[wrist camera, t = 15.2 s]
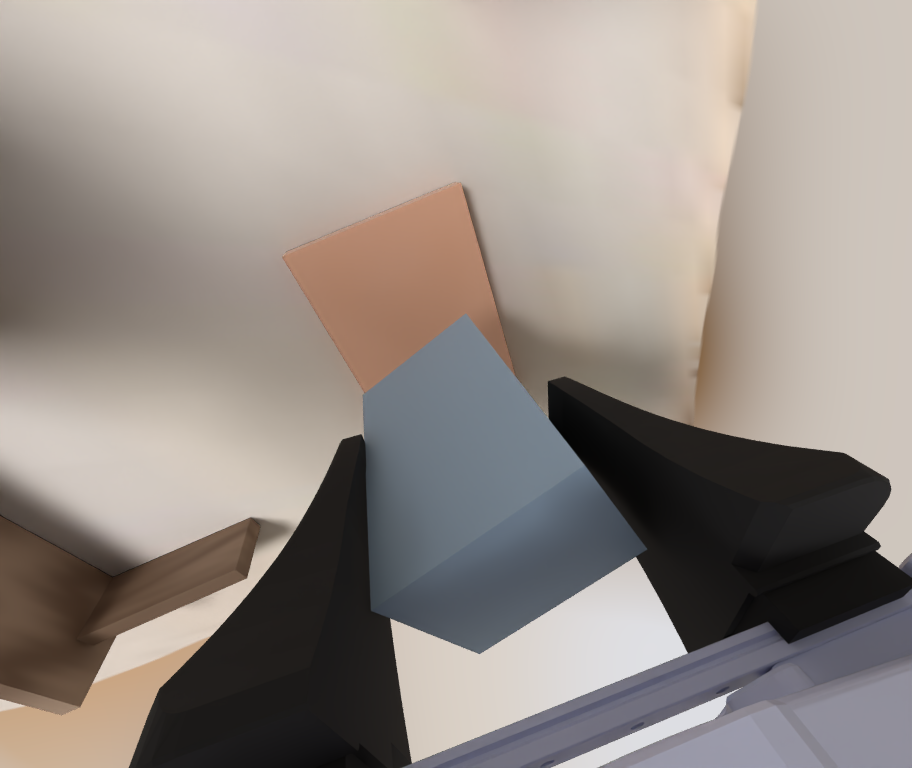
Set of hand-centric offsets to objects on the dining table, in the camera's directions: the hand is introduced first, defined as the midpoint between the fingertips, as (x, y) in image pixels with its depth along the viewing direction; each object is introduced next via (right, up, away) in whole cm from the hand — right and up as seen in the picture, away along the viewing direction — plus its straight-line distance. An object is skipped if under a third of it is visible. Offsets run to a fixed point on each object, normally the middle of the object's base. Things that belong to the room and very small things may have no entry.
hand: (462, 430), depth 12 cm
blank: (-1, +1, +2) cm, 3 cm away
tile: (-2, +4, +7) cm, 8 cm away
